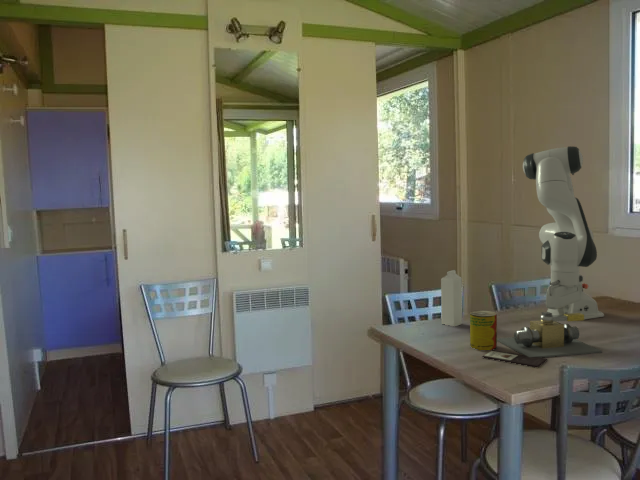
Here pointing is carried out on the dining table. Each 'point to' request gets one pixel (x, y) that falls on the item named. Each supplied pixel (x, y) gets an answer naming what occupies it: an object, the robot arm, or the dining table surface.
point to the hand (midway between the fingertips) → (563, 317)
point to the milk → (451, 299)
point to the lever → (561, 317)
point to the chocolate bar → (515, 358)
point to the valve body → (546, 334)
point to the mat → (535, 351)
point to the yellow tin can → (483, 330)
